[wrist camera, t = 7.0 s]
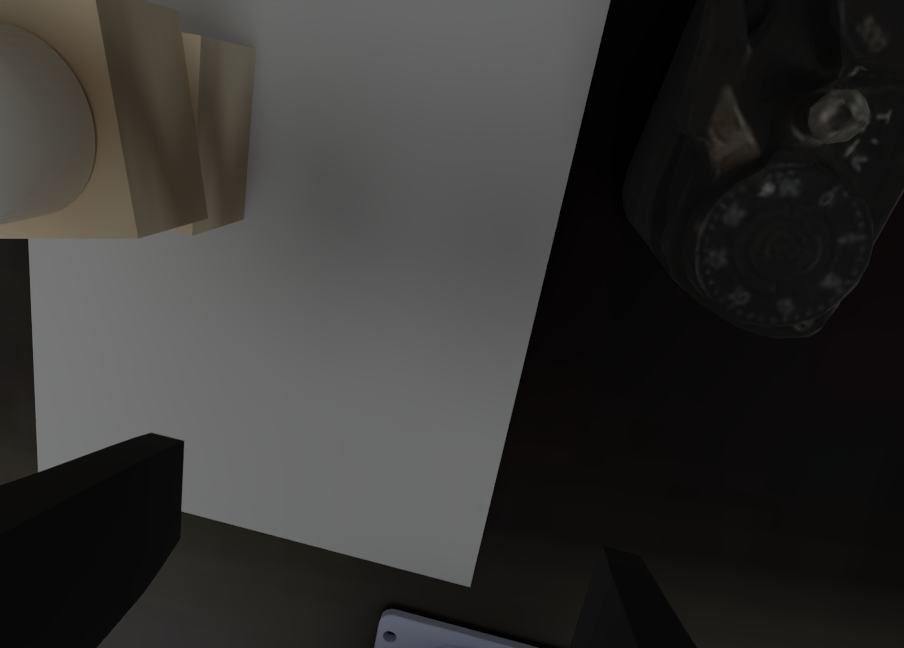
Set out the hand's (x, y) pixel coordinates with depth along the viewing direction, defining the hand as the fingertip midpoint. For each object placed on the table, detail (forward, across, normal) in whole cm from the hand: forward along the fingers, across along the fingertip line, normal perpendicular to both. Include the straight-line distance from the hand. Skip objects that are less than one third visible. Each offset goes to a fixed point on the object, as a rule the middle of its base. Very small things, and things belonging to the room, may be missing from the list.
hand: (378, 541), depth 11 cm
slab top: (+7, +10, -5) cm, 13 cm away
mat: (+10, +6, -1) cm, 12 cm away
